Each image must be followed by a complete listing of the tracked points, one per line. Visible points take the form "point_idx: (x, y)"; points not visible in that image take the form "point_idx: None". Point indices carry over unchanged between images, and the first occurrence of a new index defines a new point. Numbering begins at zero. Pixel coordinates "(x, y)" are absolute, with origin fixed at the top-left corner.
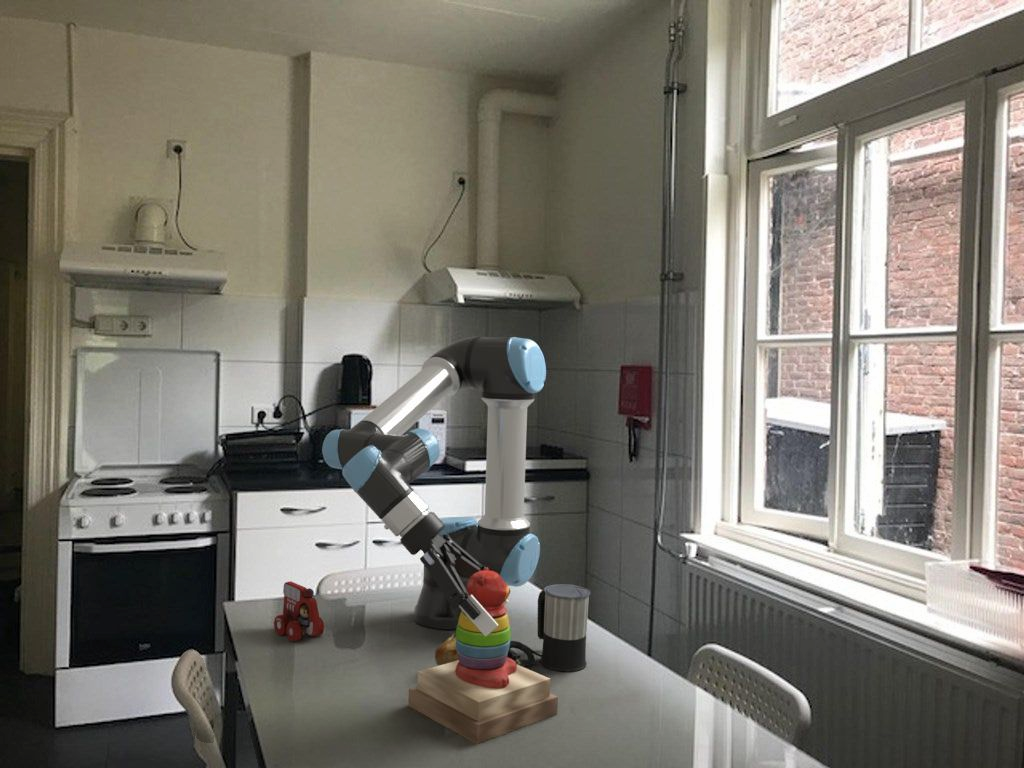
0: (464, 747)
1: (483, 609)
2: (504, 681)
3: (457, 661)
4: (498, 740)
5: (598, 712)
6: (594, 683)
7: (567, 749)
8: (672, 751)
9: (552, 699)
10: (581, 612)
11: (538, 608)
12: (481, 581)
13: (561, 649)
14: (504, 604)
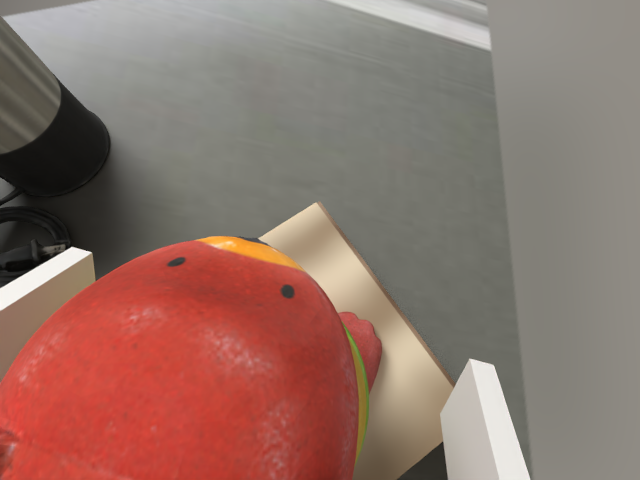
0: None
1: (523, 476)
2: (373, 328)
3: None
4: (438, 355)
5: (315, 140)
6: (178, 116)
7: (470, 227)
8: (466, 69)
9: (329, 215)
10: (1, 20)
11: None
12: None
13: (69, 138)
14: (93, 272)
